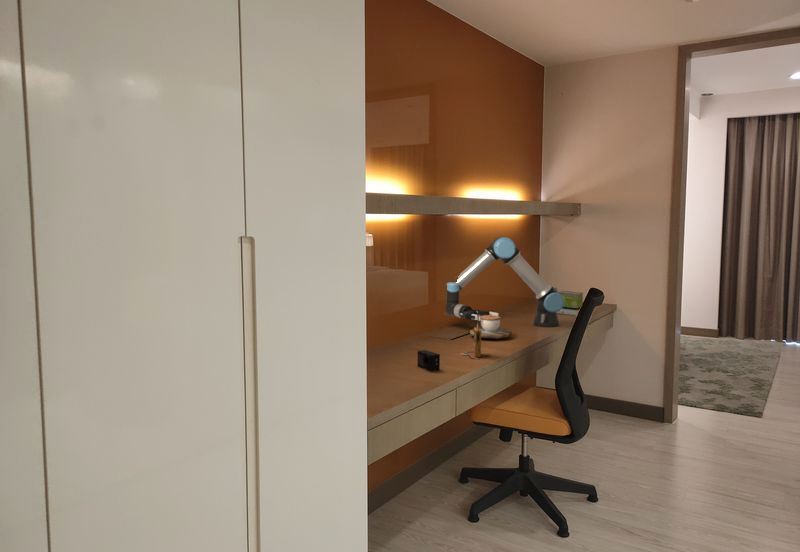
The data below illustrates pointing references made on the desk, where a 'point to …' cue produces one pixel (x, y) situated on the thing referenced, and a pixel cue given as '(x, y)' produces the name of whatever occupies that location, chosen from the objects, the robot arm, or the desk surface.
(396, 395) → the desk surface
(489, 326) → the lidded jar
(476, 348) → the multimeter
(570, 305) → the tea box
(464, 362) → the desk surface
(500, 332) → the turntable
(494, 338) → the turntable pedestal
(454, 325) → the desk surface
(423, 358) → the digital camera
